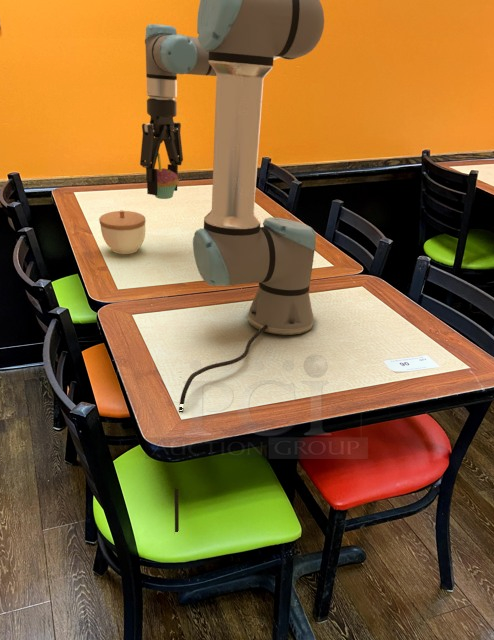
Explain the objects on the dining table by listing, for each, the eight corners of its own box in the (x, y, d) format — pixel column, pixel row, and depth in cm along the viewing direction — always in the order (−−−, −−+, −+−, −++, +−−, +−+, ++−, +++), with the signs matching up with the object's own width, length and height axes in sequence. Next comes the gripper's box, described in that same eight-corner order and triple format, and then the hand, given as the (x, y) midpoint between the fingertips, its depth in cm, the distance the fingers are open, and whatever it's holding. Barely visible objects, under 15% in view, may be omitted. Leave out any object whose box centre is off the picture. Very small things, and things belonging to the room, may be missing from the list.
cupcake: (173, 202, 152) (170, 154, 144) (143, 199, 153) (139, 151, 146) (183, 193, 158) (181, 147, 151) (154, 190, 160) (151, 144, 152)
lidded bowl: (152, 243, 168) (149, 205, 162) (140, 259, 158) (137, 220, 152) (110, 240, 169) (106, 202, 162) (96, 255, 159) (91, 216, 152)
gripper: (173, 96, 153) (173, 185, 164) (122, 96, 136) (126, 195, 148) (197, 99, 150) (195, 189, 162) (147, 100, 133) (149, 200, 145)
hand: (162, 192), depth 155 cm, fingers closed on cupcake, 9 cm apart
